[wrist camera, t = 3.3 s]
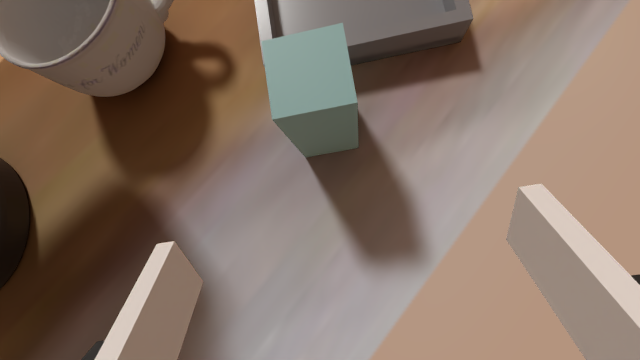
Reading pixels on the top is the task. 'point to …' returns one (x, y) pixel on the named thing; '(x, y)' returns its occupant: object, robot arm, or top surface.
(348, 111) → the teal block
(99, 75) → the teacup
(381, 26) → the tray
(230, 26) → the top surface
